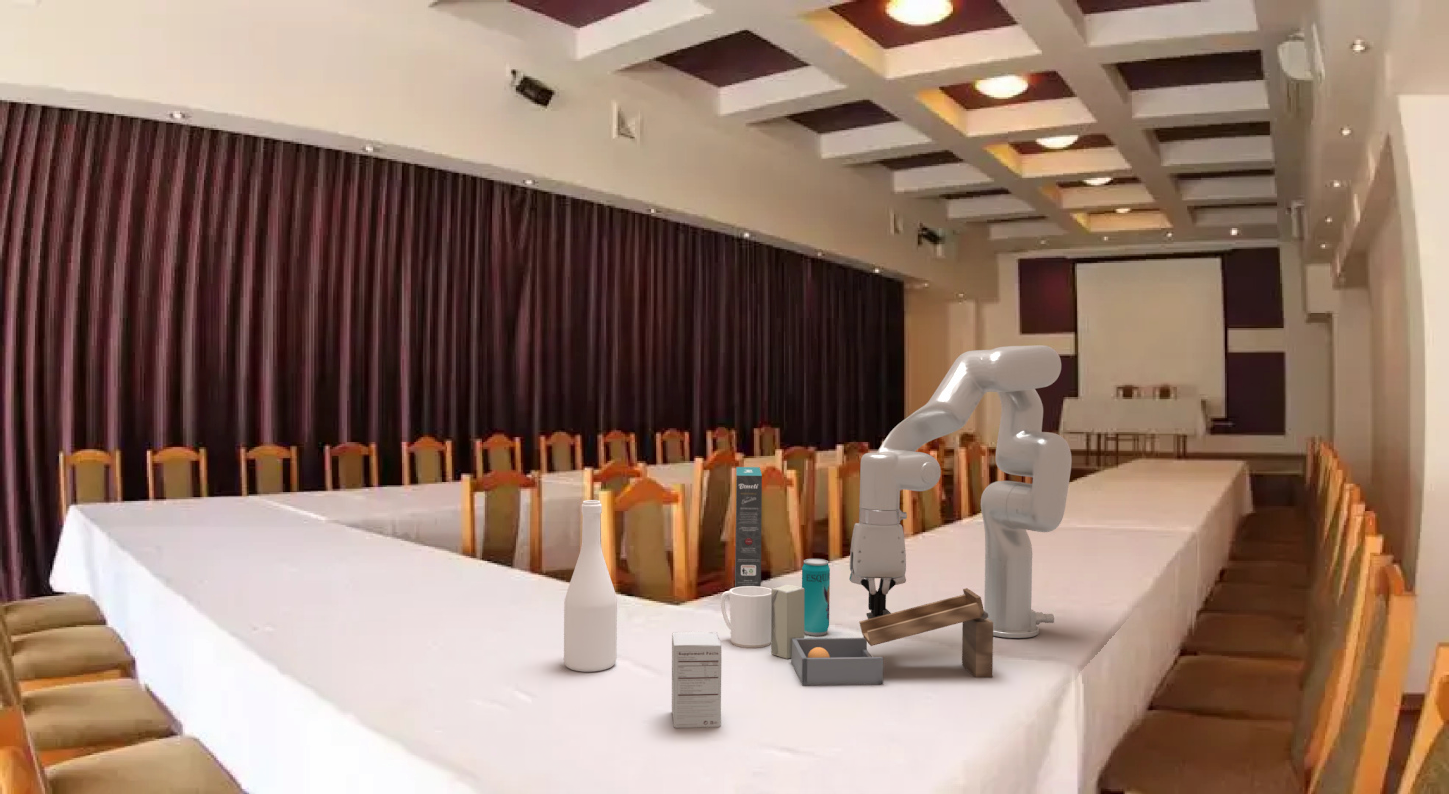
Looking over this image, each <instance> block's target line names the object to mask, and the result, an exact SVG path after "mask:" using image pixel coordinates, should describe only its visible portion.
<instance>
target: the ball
mask: <svg viewBox="0 0 1449 794" xmlns="http://www.w3.org/2000/svg"><path fill="white" fill-rule="evenodd" d="M808 658H830V656H829V653H828V652H827V651H826V650H825V649H824V648H821V647H816V648H813V649H812V650H811V651H810V652H809V654H808Z"/></svg>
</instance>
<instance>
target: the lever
mask: <svg viewBox="0 0 1449 794" xmlns="http://www.w3.org/2000/svg"><path fill="white" fill-rule="evenodd" d="M962 591H963V594H961V595H956V596H952V597H949V598H944V599H940V600H937V601H934V602H929V603H925V604H922V605H917V606H914V607H910V608H907V609H903V610H899V611H895V612H891V611H889V609H887V608H886V610H883V615H877V616H874V615H873V614H872V613H871V611H870V612H866V613H865V615H866V617H867V619H864V620H863V619H862V620H860V621H859V622H858V623H859V626H860V631H861V634H862V638H864V639H865V640H866V641H867V644H868V645H869V646H870V647H873V646H877V645H881V644H884V643H889V642H892V641H896V640H900V639H904V638H907V637H912V636H915V635H920V634H922V633H926V632H927V633H928V632H930V631H934V630H938V629H942V628H946V627H949V626H953V625H957V624H961V623H962V624H963V622H965V621H969V620H973V619H977V618H981V617H982V618H983V619H987V618H988V613H986V612H985V611H984V606H983V605H984V604H983V602H982V597H981V596H980V595H979V594H977V593H975V592H974V591H972V590H971V589H969V588H967V587H966V588H962Z"/></svg>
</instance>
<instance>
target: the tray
mask: <svg viewBox="0 0 1449 794" xmlns="http://www.w3.org/2000/svg"><path fill="white" fill-rule="evenodd" d="M867 646H868V642H867V641H866V640H865V639H864V637H813V638H812V637H804V638H792V641H791V659H790V662H791V665H792V667H793V669H794V671H795V673H796V676H797V678H798V679H799V682H800V684H801V685H802V686H843V685H844V686H847V685H848V686H850V685H852V686H853V685H856V686H857V685H860V686H861V685H884V683H883V682H884V657H882V656H872V654H871V653H870V652H869V650H868V647H867ZM816 647H821V648H824V649H825V650H826V651H827V652H828V653H829V656H830V658H808V654H809V652H810V651H811V650H812V649H813V648H816Z"/></svg>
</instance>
